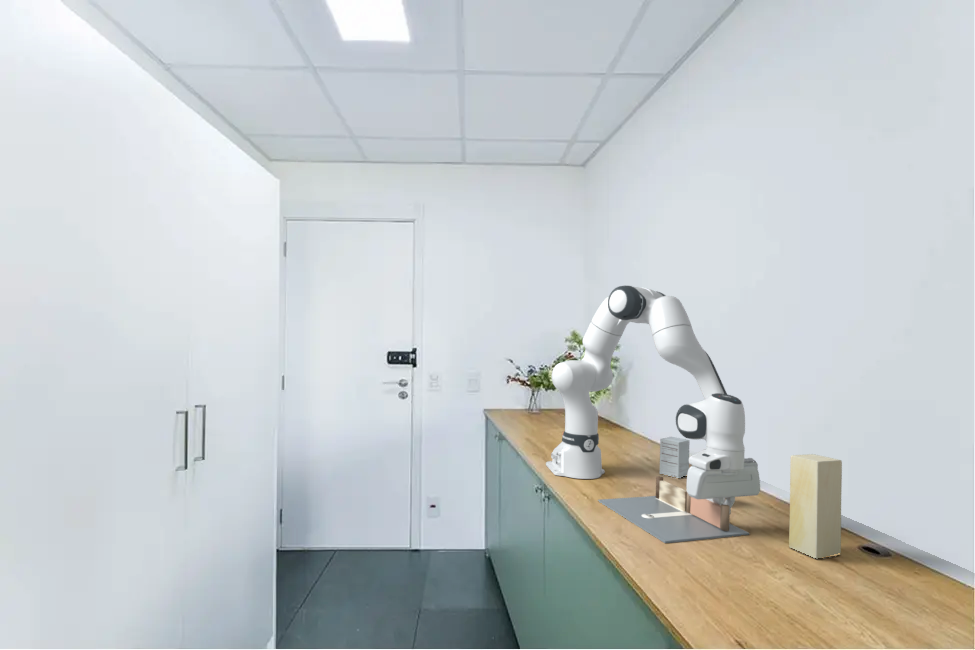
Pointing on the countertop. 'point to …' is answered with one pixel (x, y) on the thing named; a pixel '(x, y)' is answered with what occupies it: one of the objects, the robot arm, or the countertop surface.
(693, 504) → the hinged fence panel
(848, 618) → the countertop surface
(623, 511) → the card
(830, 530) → the toy refrigerator
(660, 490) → the fixed fence panel
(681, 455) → the supplement box
